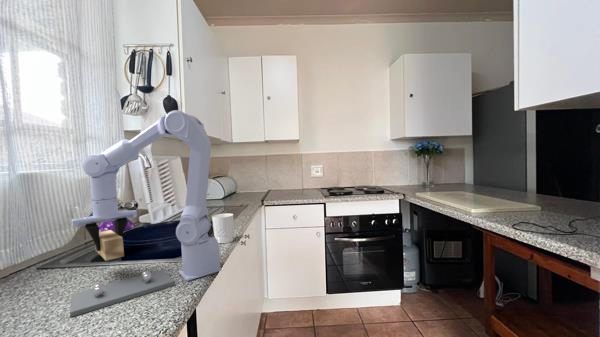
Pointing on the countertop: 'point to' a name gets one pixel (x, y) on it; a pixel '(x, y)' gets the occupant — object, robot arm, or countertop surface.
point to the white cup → (223, 227)
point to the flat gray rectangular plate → (118, 291)
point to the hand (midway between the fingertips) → (108, 247)
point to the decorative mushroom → (110, 226)
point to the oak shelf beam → (110, 245)
